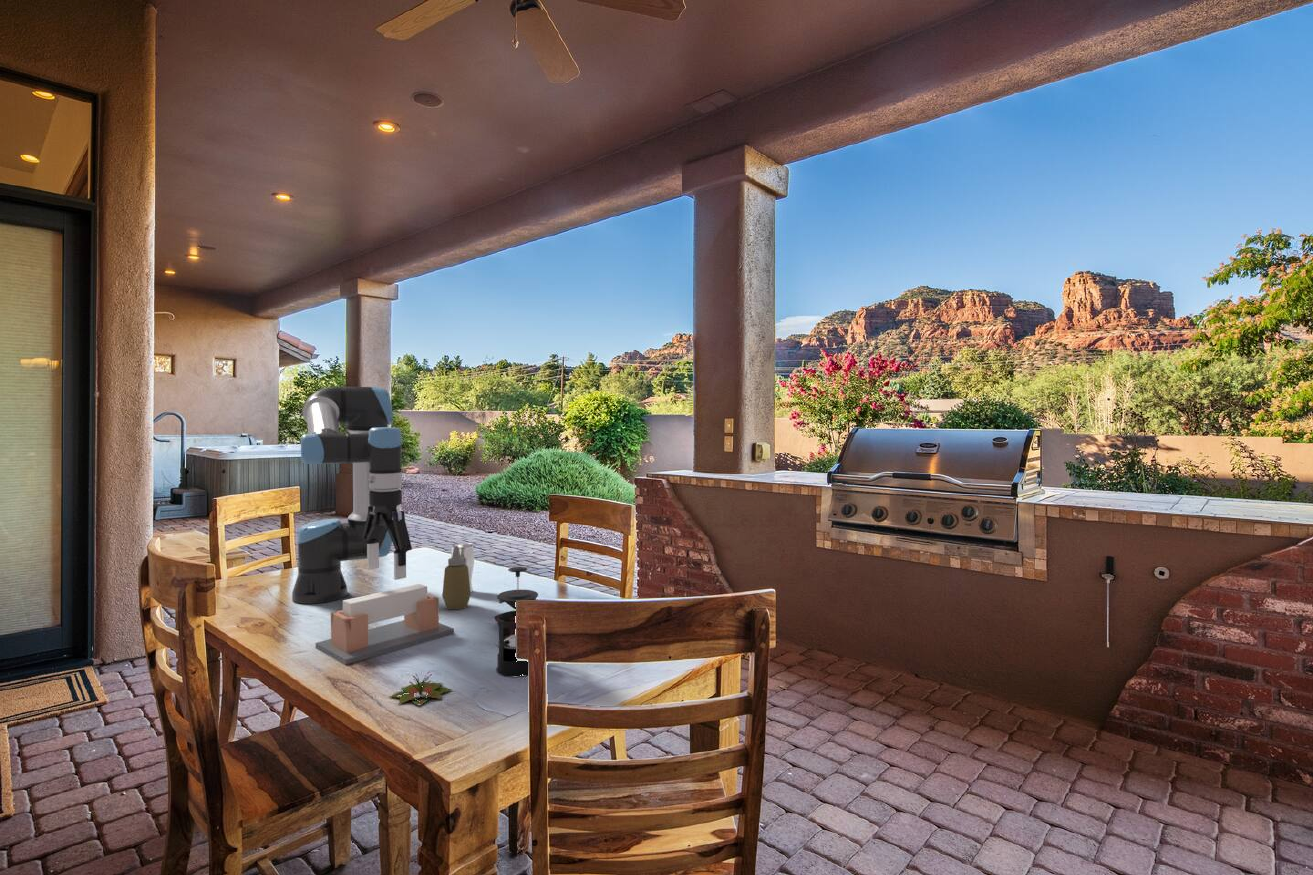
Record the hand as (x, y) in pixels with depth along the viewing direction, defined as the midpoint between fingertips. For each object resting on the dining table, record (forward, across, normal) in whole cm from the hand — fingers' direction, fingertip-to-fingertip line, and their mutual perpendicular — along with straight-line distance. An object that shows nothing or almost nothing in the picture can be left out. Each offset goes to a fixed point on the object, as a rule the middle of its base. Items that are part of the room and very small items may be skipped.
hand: (386, 573), depth 164 cm
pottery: (+17, +21, +24) cm, 37 cm away
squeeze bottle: (+17, -10, +27) cm, 34 cm away
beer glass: (+18, -22, +37) cm, 47 cm away
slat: (+11, 0, 0) cm, 11 cm away
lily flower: (+17, +35, -11) cm, 41 cm away
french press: (+17, +40, +11) cm, 44 cm away
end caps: (+17, 0, 0) cm, 17 cm away
